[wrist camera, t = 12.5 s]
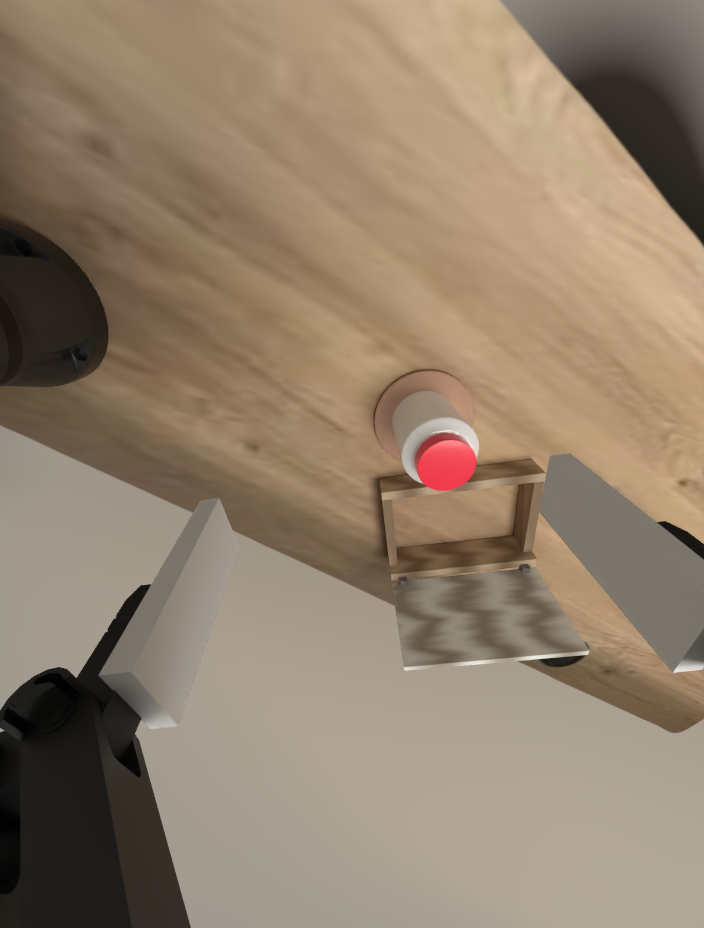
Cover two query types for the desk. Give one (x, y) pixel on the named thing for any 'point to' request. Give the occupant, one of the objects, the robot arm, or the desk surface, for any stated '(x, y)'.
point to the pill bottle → (434, 441)
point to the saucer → (411, 385)
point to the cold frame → (476, 584)
